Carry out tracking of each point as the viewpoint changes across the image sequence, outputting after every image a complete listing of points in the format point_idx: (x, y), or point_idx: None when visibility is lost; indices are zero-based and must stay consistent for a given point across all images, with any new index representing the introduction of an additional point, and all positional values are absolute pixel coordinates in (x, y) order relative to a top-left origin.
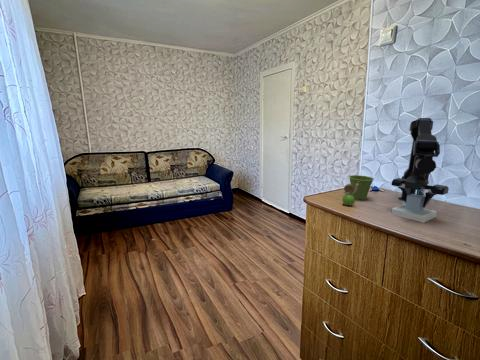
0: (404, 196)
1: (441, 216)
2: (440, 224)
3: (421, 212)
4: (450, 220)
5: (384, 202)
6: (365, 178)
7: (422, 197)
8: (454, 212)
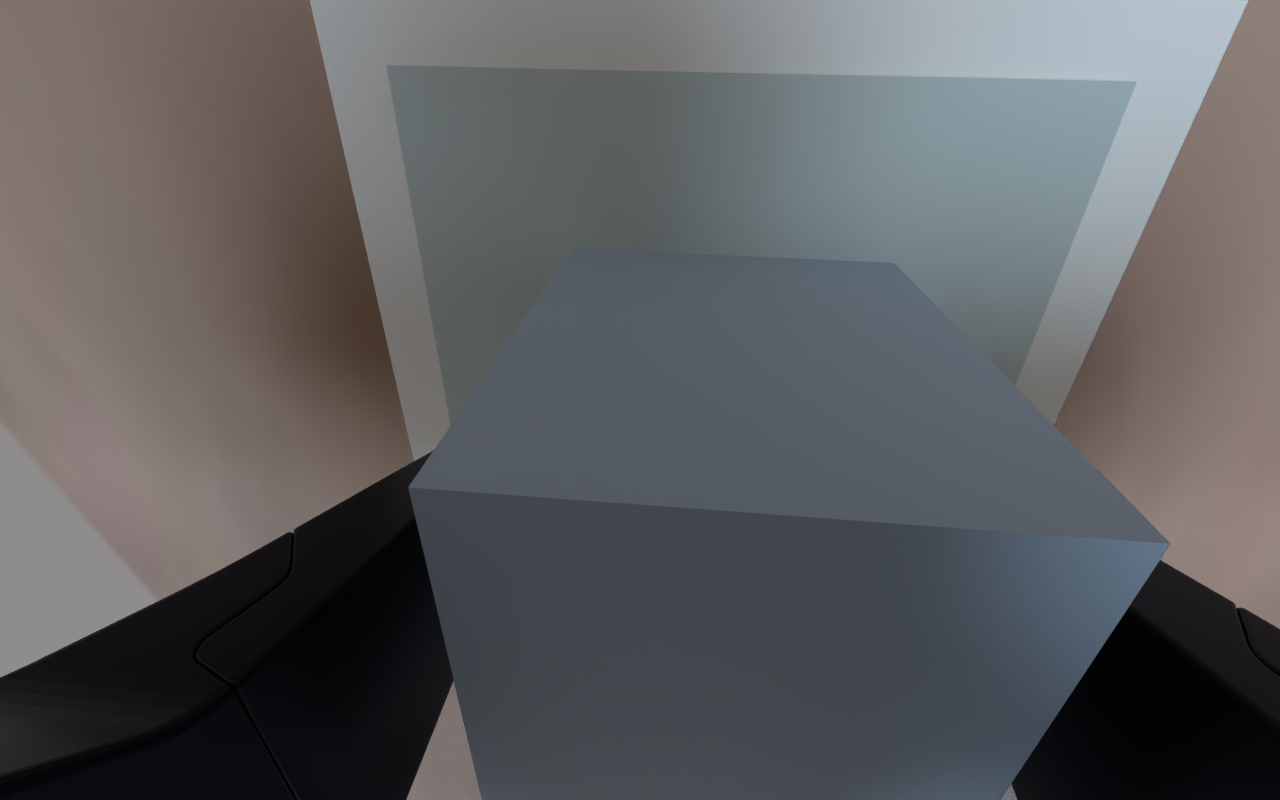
0: (1187, 590)
1: None
2: (238, 221)
3: (528, 301)
4: None
5: None
6: None
7: (480, 683)
8: (464, 779)
